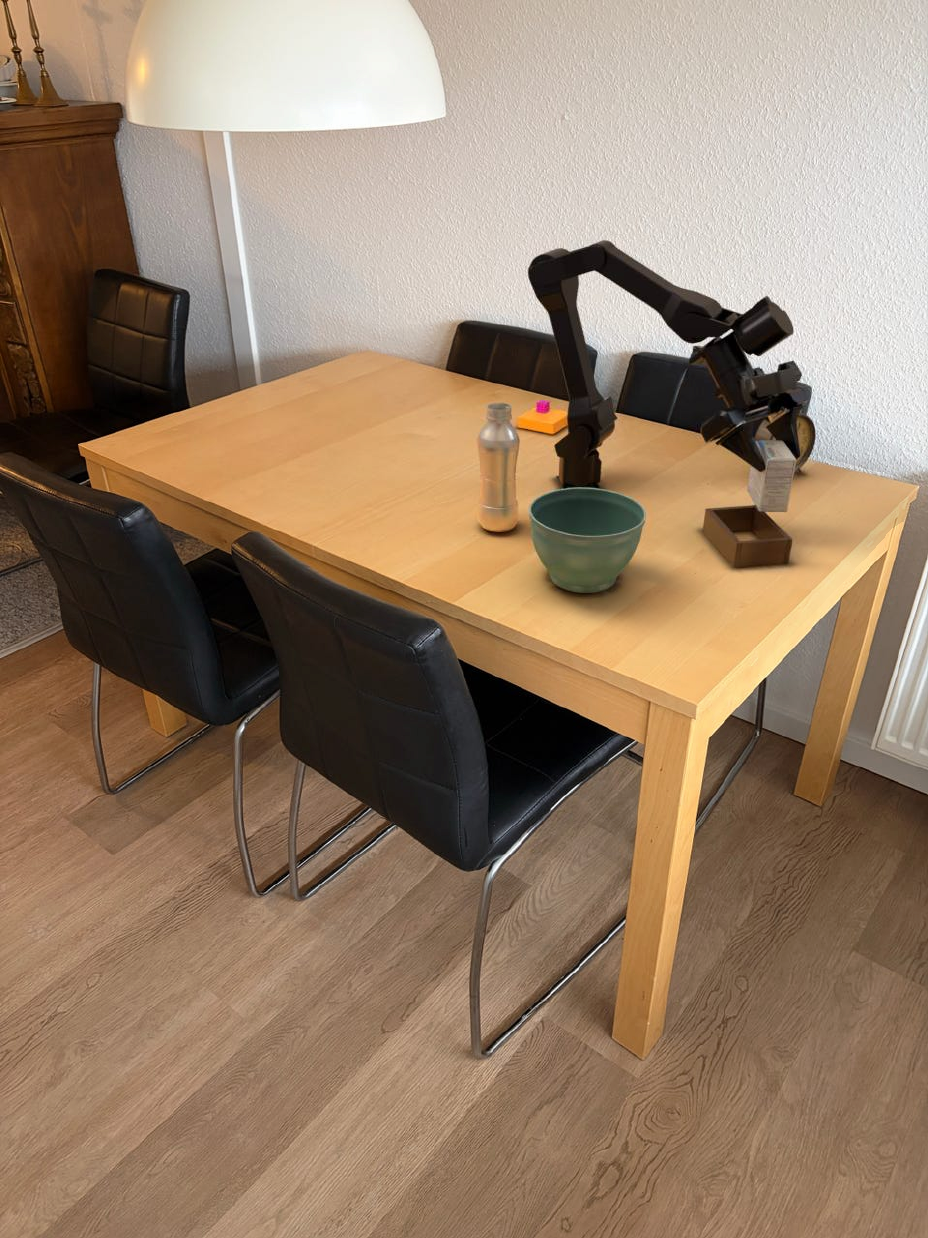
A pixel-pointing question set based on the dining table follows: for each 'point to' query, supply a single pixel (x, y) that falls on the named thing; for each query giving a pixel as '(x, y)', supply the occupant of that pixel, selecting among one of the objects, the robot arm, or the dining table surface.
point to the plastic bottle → (498, 470)
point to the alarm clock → (804, 436)
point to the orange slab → (543, 418)
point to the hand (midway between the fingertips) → (780, 464)
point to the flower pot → (585, 536)
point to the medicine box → (772, 477)
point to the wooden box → (750, 552)
